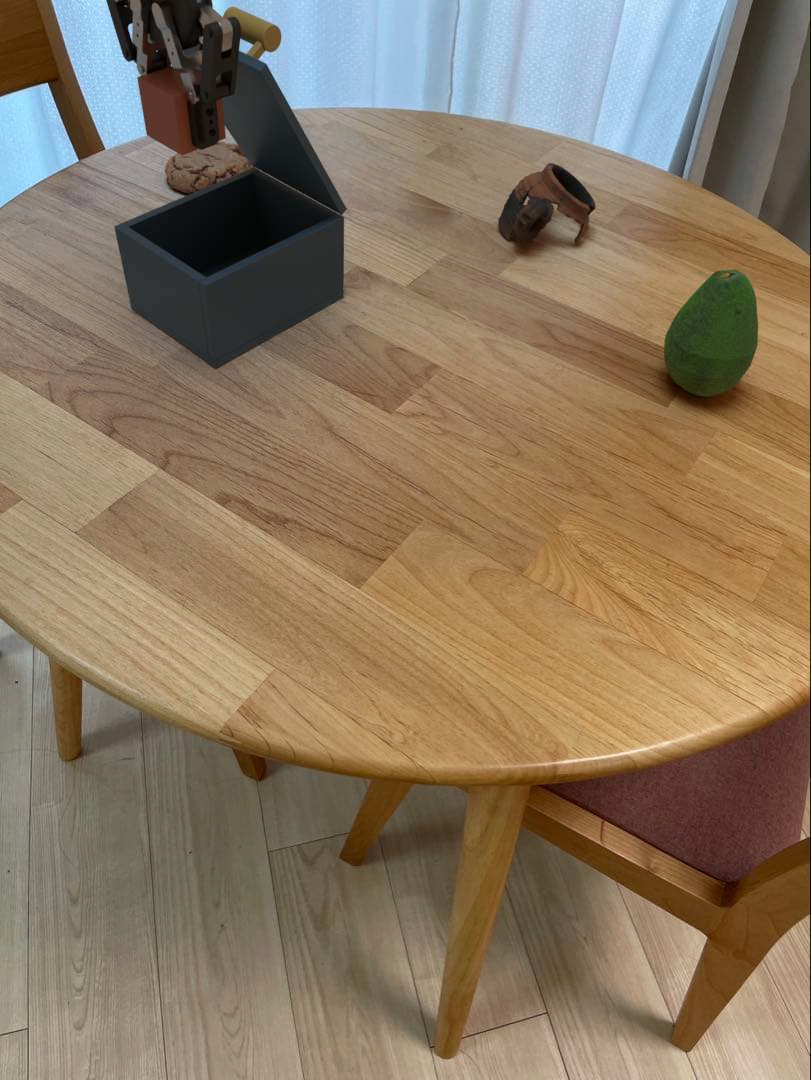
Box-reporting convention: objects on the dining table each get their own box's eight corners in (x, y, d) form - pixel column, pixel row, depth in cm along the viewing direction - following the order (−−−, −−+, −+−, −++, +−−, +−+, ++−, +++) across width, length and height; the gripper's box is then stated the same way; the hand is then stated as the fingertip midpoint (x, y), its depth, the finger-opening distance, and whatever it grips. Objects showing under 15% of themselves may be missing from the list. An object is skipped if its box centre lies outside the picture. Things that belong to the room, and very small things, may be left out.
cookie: (148, 179, 103) (144, 154, 100) (211, 148, 109) (209, 123, 106) (210, 209, 99) (207, 184, 97) (272, 175, 105) (271, 150, 103)
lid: (259, 71, 67) (301, 19, 67) (154, 20, 72) (194, -28, 72) (342, 215, 83) (375, 173, 83) (251, 165, 88) (283, 125, 88)
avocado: (700, 353, 87) (742, 244, 78) (751, 402, 83) (803, 292, 74) (634, 371, 85) (670, 261, 76) (684, 423, 80) (728, 312, 71)
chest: (215, 369, 81) (205, 285, 75) (131, 309, 86) (113, 226, 80) (343, 297, 90) (344, 216, 83) (259, 246, 95) (254, 166, 88)
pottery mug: (504, 206, 105) (550, 149, 100) (562, 261, 105) (611, 206, 100) (474, 228, 95) (522, 165, 90) (537, 288, 96) (589, 229, 91)
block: (181, 156, 70) (173, 96, 67) (146, 135, 72) (136, 76, 69) (226, 138, 73) (220, 80, 69) (191, 119, 74) (183, 61, 71)
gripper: (42, -135, 60) (95, 117, 73) (174, -82, 54) (205, 182, 67) (133, -150, 64) (168, 92, 77) (265, -102, 58) (278, 151, 71)
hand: (185, 133), depth 72 cm, fingers closed on block, 4 cm apart
